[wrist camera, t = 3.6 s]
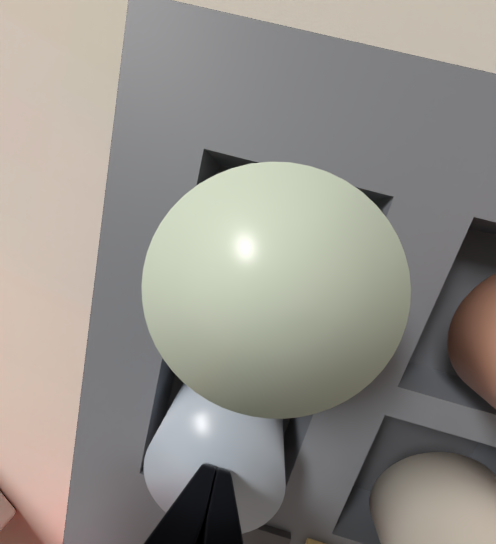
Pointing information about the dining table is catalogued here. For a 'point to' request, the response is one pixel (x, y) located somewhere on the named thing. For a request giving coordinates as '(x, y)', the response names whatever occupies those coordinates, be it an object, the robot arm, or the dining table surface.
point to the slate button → (218, 455)
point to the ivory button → (435, 501)
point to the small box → (5, 511)
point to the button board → (307, 151)
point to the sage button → (276, 290)
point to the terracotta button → (476, 340)
